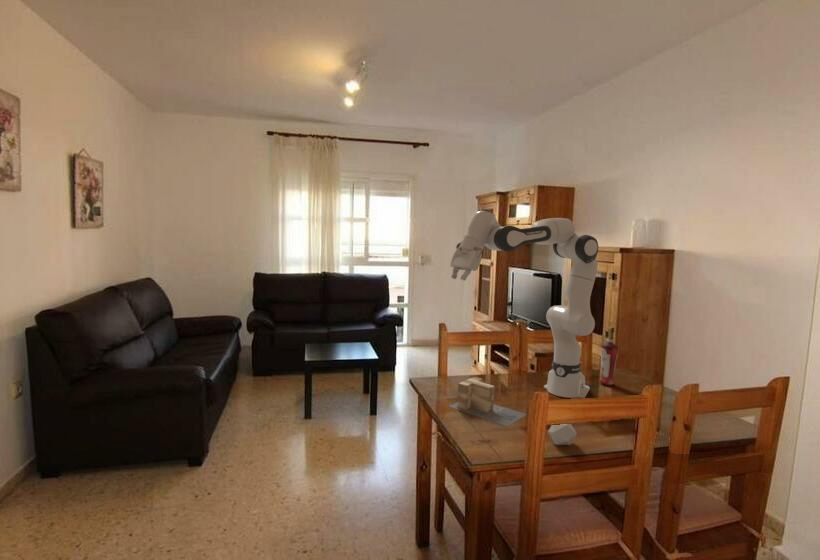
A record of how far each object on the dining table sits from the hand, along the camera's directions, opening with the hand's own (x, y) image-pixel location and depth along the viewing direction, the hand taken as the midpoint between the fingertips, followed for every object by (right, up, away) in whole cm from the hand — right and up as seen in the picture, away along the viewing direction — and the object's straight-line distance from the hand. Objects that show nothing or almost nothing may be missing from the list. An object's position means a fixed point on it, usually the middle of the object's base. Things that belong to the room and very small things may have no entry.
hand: (457, 279), depth 186 cm
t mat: (+12, -53, +1) cm, 54 cm away
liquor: (+76, -51, +40) cm, 100 cm away
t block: (+8, -52, +4) cm, 53 cm away
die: (+33, -57, -25) cm, 70 cm away
